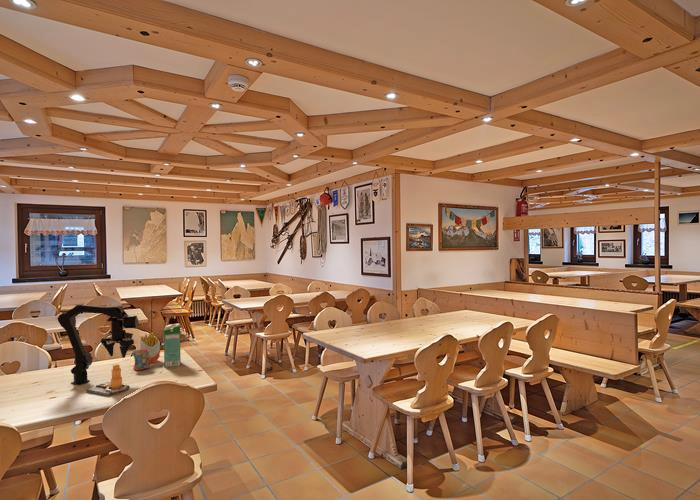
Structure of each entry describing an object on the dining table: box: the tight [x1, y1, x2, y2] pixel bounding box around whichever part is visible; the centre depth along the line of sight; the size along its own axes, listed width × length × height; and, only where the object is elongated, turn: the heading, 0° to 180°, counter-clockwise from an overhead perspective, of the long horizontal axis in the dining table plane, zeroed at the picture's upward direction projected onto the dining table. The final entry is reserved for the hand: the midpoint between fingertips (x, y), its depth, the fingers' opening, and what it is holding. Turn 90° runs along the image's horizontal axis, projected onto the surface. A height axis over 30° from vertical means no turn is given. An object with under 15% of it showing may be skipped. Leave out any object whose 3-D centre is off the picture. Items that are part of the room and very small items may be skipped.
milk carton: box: [163, 322, 182, 368], centre depth 255 cm, size 9×9×25 cm
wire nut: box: [110, 364, 123, 390], centre depth 210 cm, size 5×5×12 cm
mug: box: [131, 349, 151, 371], centre depth 247 cm, size 12×9×11 cm
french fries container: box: [139, 332, 161, 365], centre depth 261 cm, size 5×11×18 cm, turn 156°
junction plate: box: [85, 381, 131, 397], centre depth 211 cm, size 18×12×2 cm, turn 68°
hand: (117, 356), depth 227 cm, fingers open, 9 cm apart
